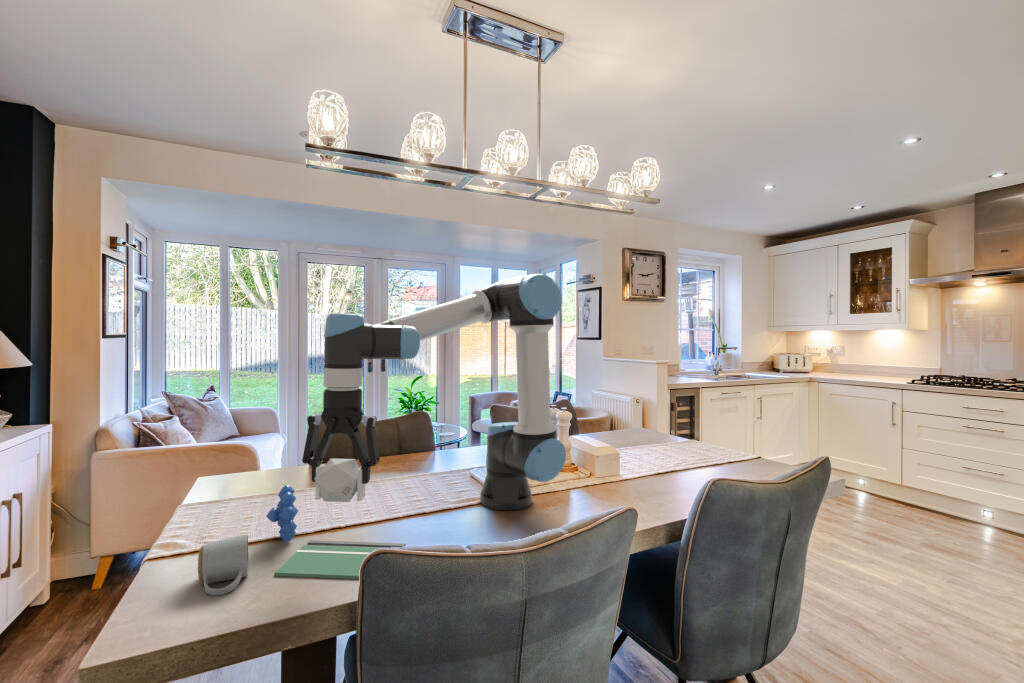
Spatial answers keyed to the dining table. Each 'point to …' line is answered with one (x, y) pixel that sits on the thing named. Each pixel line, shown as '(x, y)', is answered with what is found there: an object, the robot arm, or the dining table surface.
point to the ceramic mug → (223, 563)
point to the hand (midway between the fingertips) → (340, 497)
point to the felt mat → (325, 562)
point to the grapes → (285, 513)
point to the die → (338, 480)
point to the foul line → (356, 543)
